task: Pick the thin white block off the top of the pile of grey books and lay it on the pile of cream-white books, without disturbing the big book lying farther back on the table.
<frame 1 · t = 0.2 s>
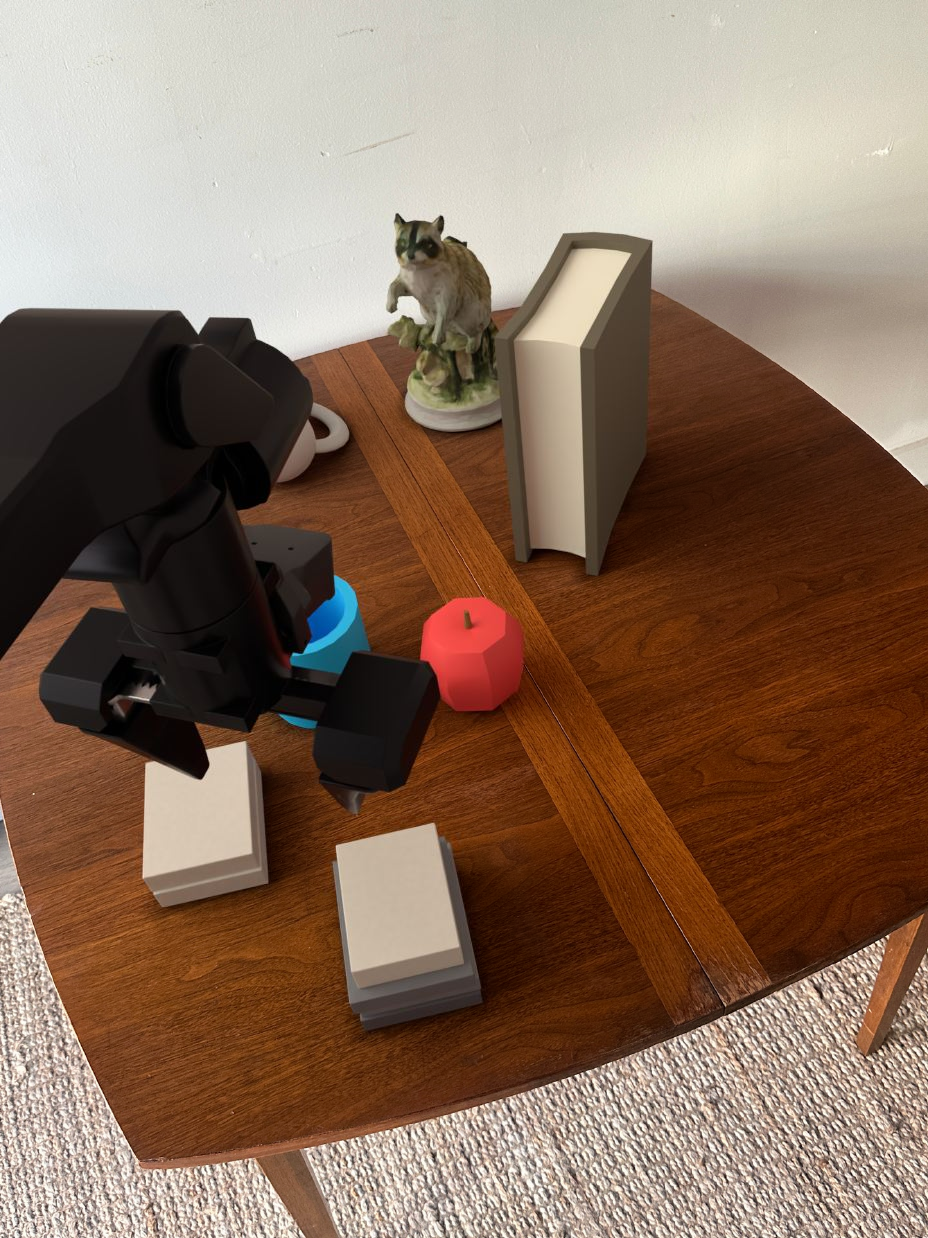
hand: (278, 788, 55), 14 cm above the table, tool pointing down, fingers open, 9 cm apart
book: (584, 506, 88), on the table
mug 2: (296, 452, 98), on the table
mug: (301, 683, 78), on the table
white block: (400, 911, 59), point 4 cm above the table, touching grey pile
figurine: (463, 399, 101), on the table
white pile: (214, 836, 69), on the table
grey pile: (412, 946, 62), on the table
apple: (477, 686, 76), on the table
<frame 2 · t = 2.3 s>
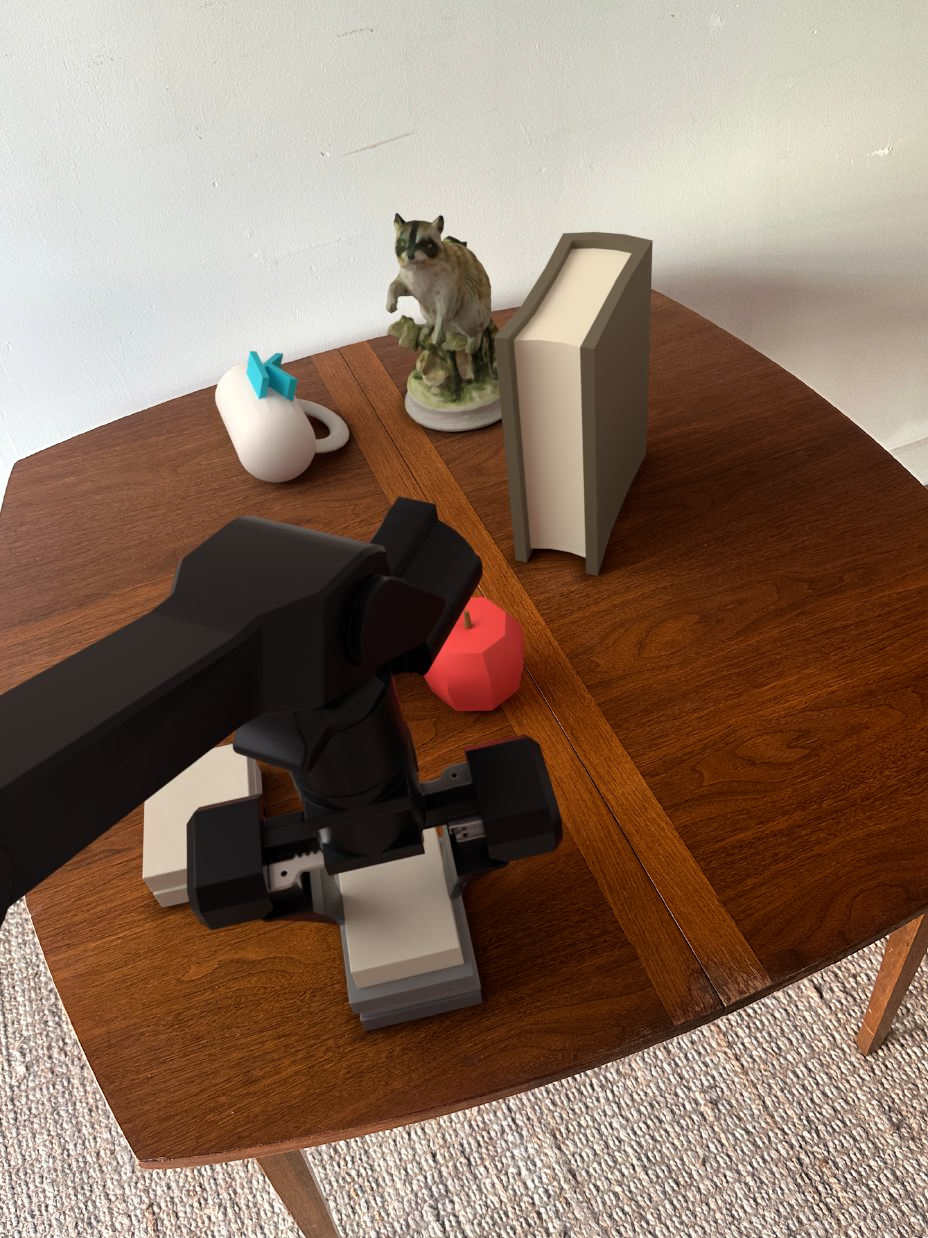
hand: (398, 904, 58), 5 cm above the table, tool pointing down, fingers closed on white block, 6 cm apart
white block: (400, 911, 59), point 5 cm above the table, touching grey pile, gripper
everything else where it was.
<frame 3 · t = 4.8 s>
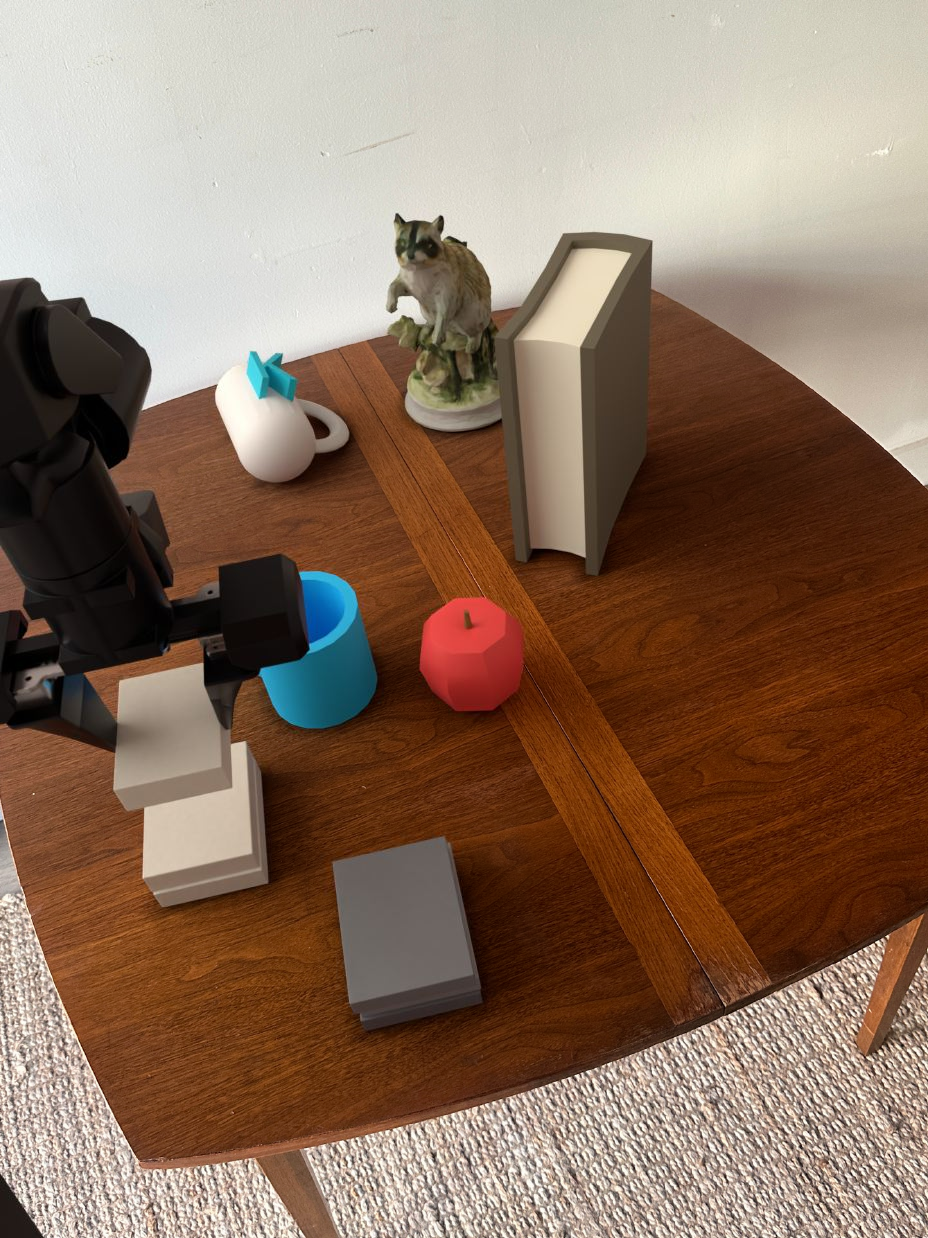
hand: (175, 734, 59), 13 cm above the table, tool pointing down, fingers closed on white block, 6 cm apart
white block: (180, 743, 60), point 12 cm above the table, touching gripper
everything else where it was.
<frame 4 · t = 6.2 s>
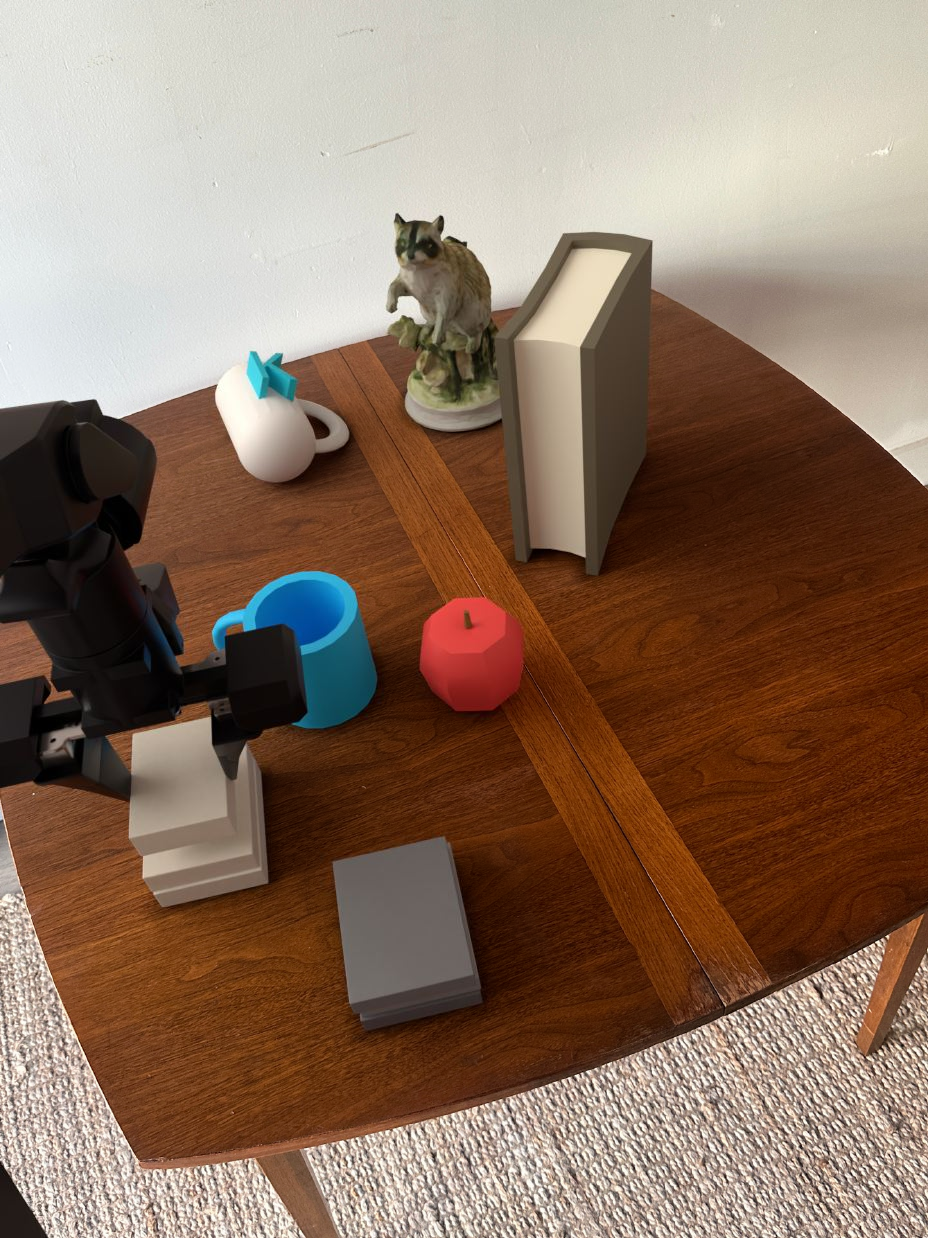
hand: (184, 785, 64), 6 cm above the table, tool pointing down, fingers closed on white block, 6 cm apart
white block: (188, 792, 65), point 6 cm above the table, touching gripper
everything else where it was.
when the fingers open (5 cm above the table, at t = 7.3 s): white block stays where it is, resting on white pile.
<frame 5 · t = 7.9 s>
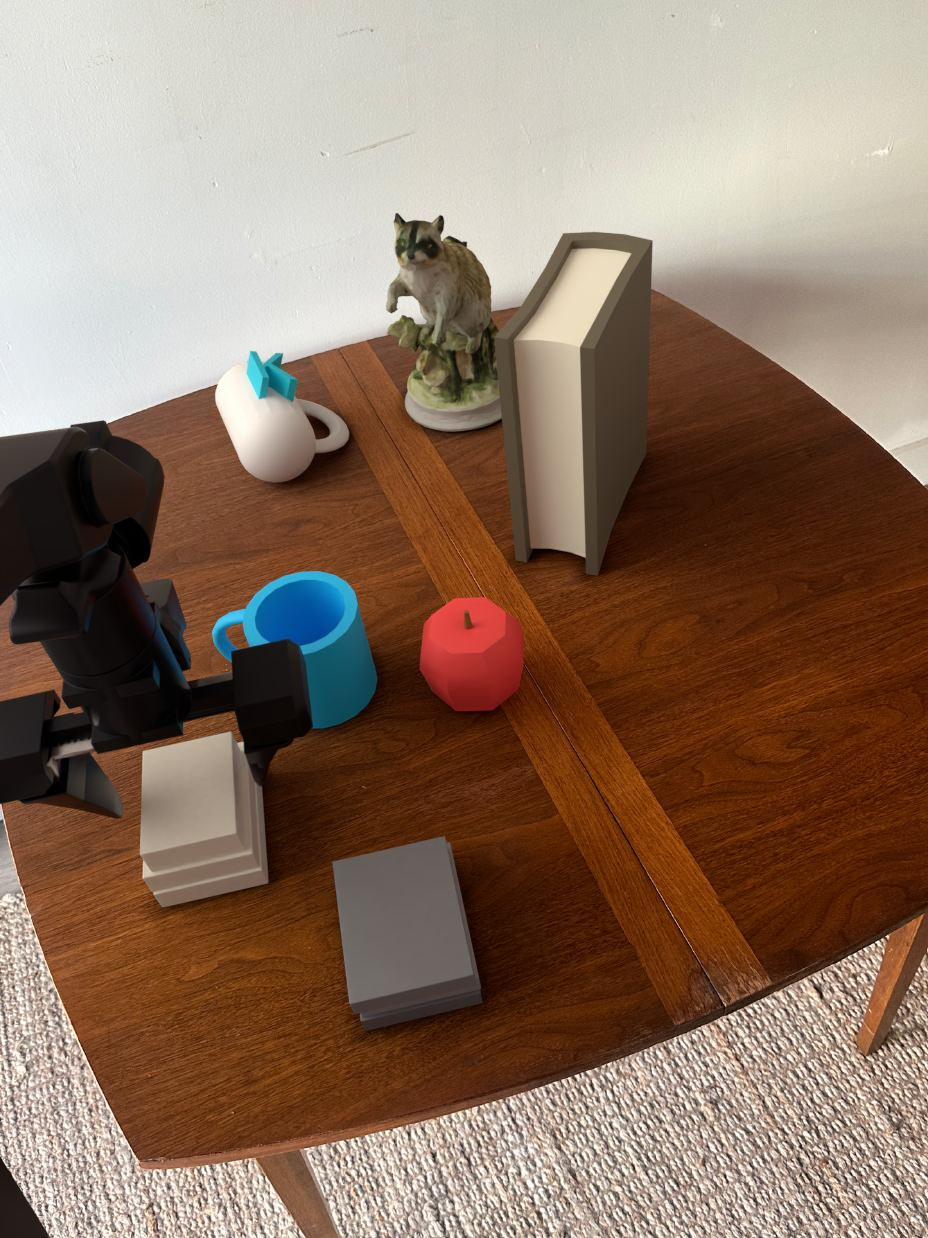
hand: (191, 796, 66), 5 cm above the table, tool pointing down, fingers open, 9 cm apart
white block: (197, 808, 67), point 4 cm above the table, touching white pile
everything else where it was.
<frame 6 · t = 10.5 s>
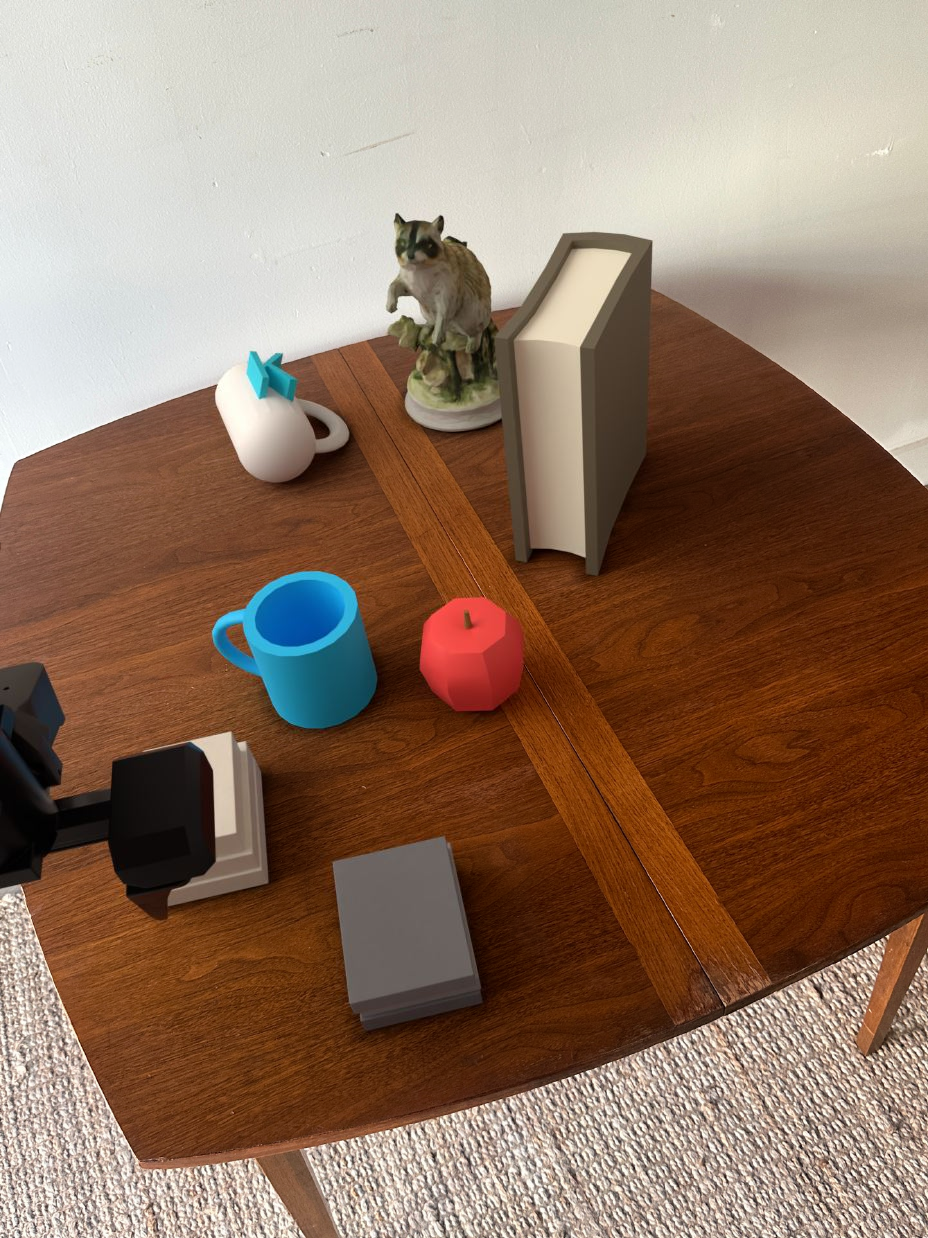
hand: (75, 932, 52), 12 cm above the table, tool pointing down, fingers open, 9 cm apart
nothing on the table moved.
at the end: white block 0.0 cm off-centre on the white pile, point 3.6 cm above the white pile's base; the gripper is holding nothing; book moved 0.2 cm from its start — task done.
